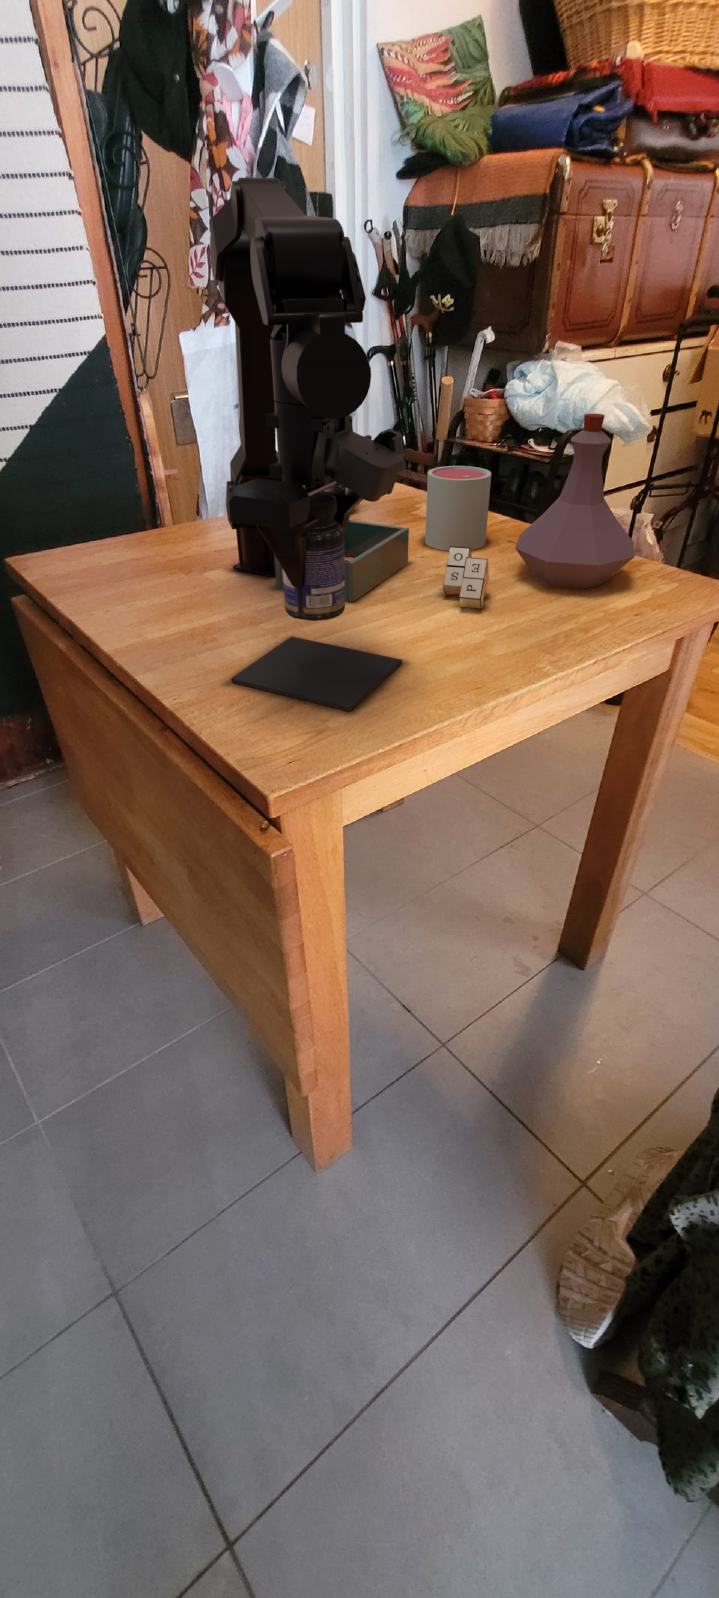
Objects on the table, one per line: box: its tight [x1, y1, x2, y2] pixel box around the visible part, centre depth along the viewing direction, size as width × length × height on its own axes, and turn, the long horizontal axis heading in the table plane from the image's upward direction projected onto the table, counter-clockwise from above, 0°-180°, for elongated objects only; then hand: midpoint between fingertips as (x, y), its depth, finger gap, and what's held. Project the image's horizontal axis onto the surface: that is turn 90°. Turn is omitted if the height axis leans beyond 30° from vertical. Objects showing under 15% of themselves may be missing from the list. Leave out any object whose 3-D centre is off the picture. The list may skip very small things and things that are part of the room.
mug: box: [424, 465, 492, 552], centre depth 117 cm, size 14×9×10 cm
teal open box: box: [274, 519, 410, 603], centre depth 104 cm, size 12×17×5 cm
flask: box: [514, 412, 636, 590], centre depth 99 cm, size 16×16×20 cm
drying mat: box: [230, 636, 403, 712], centre depth 81 cm, size 14×12×1 cm
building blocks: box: [442, 546, 490, 609], centre depth 97 cm, size 5×5×8 cm
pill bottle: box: [283, 493, 346, 622], centre depth 74 cm, size 6×6×11 cm
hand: (314, 576), depth 75 cm, fingers closed on pill bottle, 6 cm apart
